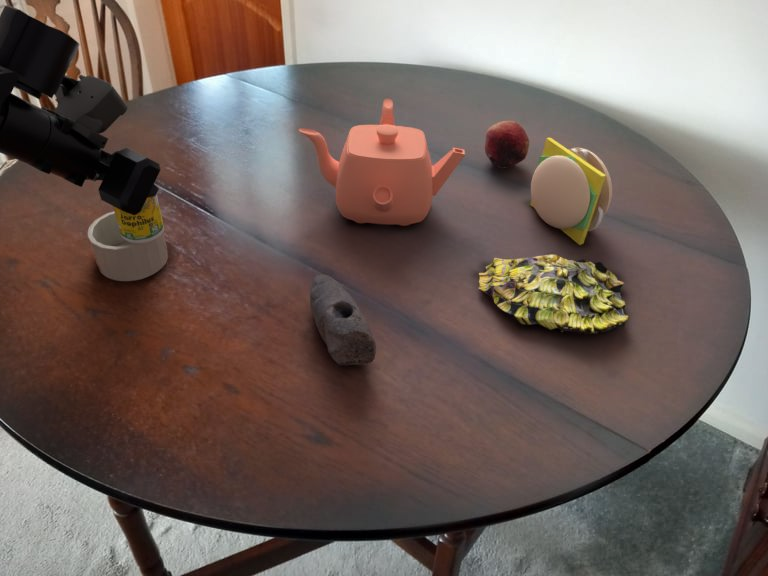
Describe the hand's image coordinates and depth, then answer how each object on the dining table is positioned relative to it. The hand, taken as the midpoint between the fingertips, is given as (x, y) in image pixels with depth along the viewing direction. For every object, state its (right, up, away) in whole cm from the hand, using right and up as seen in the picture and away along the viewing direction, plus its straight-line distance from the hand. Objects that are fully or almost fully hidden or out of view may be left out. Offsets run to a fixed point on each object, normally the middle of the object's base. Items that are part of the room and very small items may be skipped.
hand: (141, 184), depth 77 cm
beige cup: (-5, -9, +9) cm, 14 cm away
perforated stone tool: (+24, -19, 0) cm, 31 cm away
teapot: (+29, 0, +22) cm, 37 cm away
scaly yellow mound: (+53, -14, +8) cm, 55 cm away
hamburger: (+59, -2, +22) cm, 63 cm away
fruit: (+51, +9, +34) cm, 63 cm away
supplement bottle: (-1, -6, +4) cm, 7 cm away
